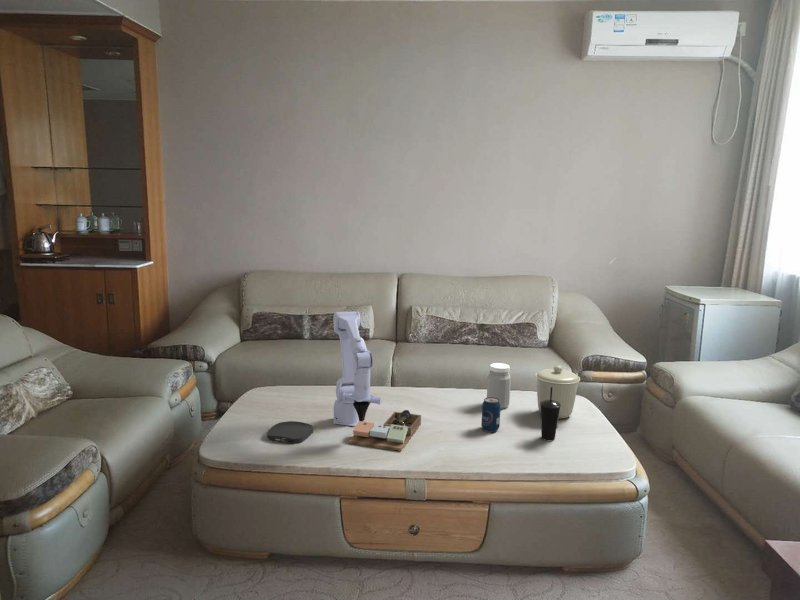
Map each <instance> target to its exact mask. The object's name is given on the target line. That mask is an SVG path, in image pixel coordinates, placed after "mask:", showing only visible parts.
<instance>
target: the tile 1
mask: <svg viewBox="0 0 800 600" xmlns="http://www.w3.org/2000/svg"><path fill="white" fill-rule="evenodd" d="M374 426H375V423H374V422H371V421H365V420H364V421H358V423H357V425H356V426H354V428H353V430H352V433H353V434H352V436H354V435H357V436H364V437H369V436H370V430H371V429H372V428H373V427H374Z"/></svg>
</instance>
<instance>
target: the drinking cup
mask: <svg viewBox="0 0 800 600" xmlns="http://www.w3.org/2000/svg"><path fill="white" fill-rule="evenodd" d="M552 388H553V387H551V390H550V400H543V401H541V402H540V405H541V413H540V424H541V425H540V426H541V427H540V428H541V429H540V431H541V439H542V438H543V439H542V440H544V439H545V440H544V441H547V440H552V441H555V439H556V434H557V433H556V432H557V428H558V421H559V419H558V417H559V411H560V407H561V404H560V403H559V402H557V401H555V400H552Z"/></svg>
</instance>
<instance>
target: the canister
mask: <svg viewBox="0 0 800 600" xmlns="http://www.w3.org/2000/svg"><path fill="white" fill-rule="evenodd" d="M534 377H535V378H536V395H537V408H538V411H539V412H540V414H541V405H540V402H541V401H543V400H550V390H551V387H553V388H552V400H555V401H557V402H559V403H560V404H561V407H560V411H559V417H558V420H560V419H566V418H569V417H570V416H571V415H572V413H573V411H574V406H575V402H576V396H577V391H578V387H579V383H580V382H581V377H580V376H579V375H577V374H576V373H574V372H572V371H569V370H566V369H563V367H562V365H555V366H553V368H546V369H545V368H544V369H541V370H539V371H537V372H536V373H535V374H534Z"/></svg>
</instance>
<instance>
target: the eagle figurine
mask: <svg viewBox="0 0 800 600" xmlns="http://www.w3.org/2000/svg"><path fill="white" fill-rule="evenodd" d="M410 414H411V413H410V411H409V409H406V410H403V411H402V412H401V413H400V414H399V417H398V419H396V418H394V419H392V420H391V421H390V423H391V424H393V423H394V424H395V425H400V426H406V424H407V421H406V422H405V423H403V421H404V420H405V419H406V418H408V417H409V415H410ZM394 424H393V425H394Z"/></svg>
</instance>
